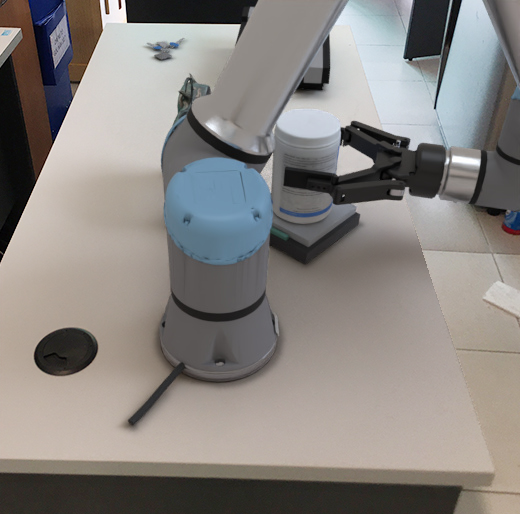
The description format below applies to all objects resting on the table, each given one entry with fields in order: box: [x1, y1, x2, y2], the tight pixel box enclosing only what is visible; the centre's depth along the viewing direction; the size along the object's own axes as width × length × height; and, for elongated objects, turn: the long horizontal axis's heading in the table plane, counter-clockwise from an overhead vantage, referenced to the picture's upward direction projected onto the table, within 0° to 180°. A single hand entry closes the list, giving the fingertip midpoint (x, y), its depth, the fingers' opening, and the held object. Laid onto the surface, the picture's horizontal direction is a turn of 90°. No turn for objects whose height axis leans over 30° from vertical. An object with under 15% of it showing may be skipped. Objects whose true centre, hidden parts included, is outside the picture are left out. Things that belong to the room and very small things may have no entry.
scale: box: [269, 192, 361, 265], centre depth 100 cm, size 14×14×3 cm
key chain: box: [146, 37, 185, 60], centre depth 155 cm, size 14×8×1 cm, turn 167°
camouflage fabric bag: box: [171, 72, 212, 127], centre depth 100 cm, size 20×6×20 cm, turn 170°
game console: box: [234, 6, 331, 91], centre depth 144 cm, size 21×32×8 cm, turn 173°
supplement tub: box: [270, 108, 342, 224], centre depth 94 cm, size 10×10×15 cm
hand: (292, 152), depth 93 cm, fingers open, 13 cm apart
